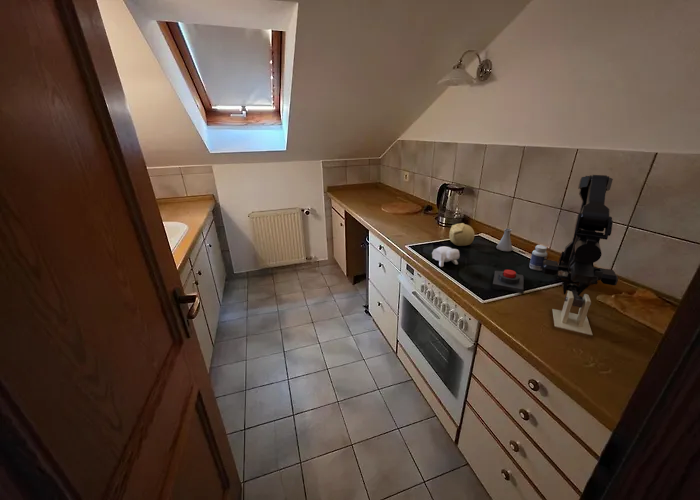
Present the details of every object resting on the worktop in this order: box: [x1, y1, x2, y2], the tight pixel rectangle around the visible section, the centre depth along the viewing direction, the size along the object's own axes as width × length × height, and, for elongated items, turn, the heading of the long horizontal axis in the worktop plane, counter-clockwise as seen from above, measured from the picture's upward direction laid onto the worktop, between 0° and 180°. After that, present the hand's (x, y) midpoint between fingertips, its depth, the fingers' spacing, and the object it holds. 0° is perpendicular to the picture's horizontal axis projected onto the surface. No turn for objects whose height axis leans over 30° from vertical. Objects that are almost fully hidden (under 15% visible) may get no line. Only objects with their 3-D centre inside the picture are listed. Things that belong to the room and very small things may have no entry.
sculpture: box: [448, 222, 475, 247], centre depth 150 cm, size 11×12×11 cm
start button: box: [503, 269, 517, 278], centre depth 111 cm, size 4×4×2 cm
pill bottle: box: [529, 244, 548, 272], centre depth 123 cm, size 5×5×10 cm
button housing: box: [491, 270, 525, 294], centre depth 112 cm, size 12×10×4 cm
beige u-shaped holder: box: [552, 291, 593, 336], centre depth 89 cm, size 10×9×10 cm
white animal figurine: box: [431, 245, 461, 268], centre depth 130 cm, size 9×8×15 cm
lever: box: [566, 283, 584, 308], centre depth 92 cm, size 13×3×3 cm, turn 152°
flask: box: [496, 227, 513, 252], centre depth 142 cm, size 7×7×10 cm
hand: (570, 295), depth 97 cm, fingers closed on lever, 3 cm apart
